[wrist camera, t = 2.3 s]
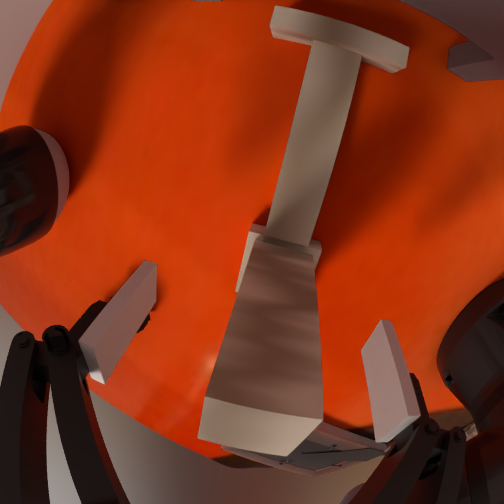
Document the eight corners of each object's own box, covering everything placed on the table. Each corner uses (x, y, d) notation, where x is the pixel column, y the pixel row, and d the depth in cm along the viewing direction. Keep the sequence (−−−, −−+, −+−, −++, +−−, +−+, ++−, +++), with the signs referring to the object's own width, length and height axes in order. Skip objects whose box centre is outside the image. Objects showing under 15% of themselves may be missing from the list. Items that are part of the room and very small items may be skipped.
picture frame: (385, 440, 34) (295, 405, 30) (387, 452, 32) (294, 421, 28) (314, 467, 41) (223, 437, 37) (314, 477, 39) (220, 449, 35)
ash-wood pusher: (395, 55, 13) (535, -5, 1) (317, 300, 22) (323, 462, 10) (277, 19, 13) (240, -124, 1) (220, 275, 22) (154, 427, 10)
